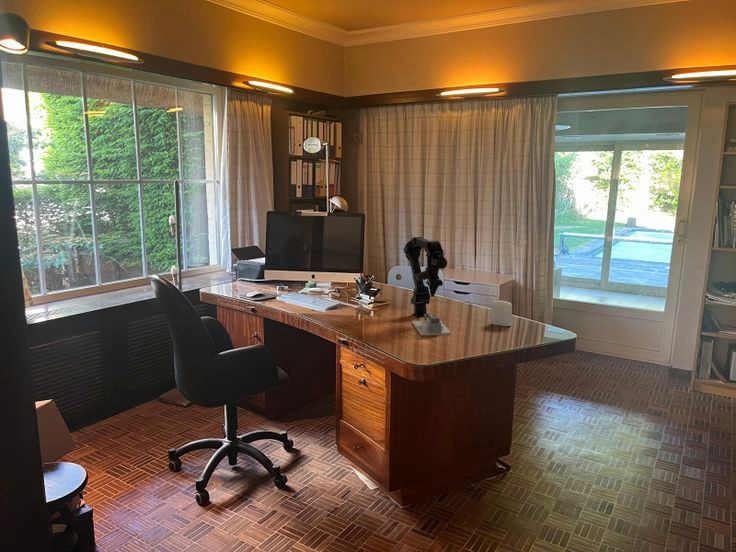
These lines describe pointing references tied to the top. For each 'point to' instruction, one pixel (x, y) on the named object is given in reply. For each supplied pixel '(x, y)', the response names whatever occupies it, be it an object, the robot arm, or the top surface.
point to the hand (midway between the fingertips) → (432, 296)
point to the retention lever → (433, 319)
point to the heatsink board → (430, 327)
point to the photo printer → (501, 313)
